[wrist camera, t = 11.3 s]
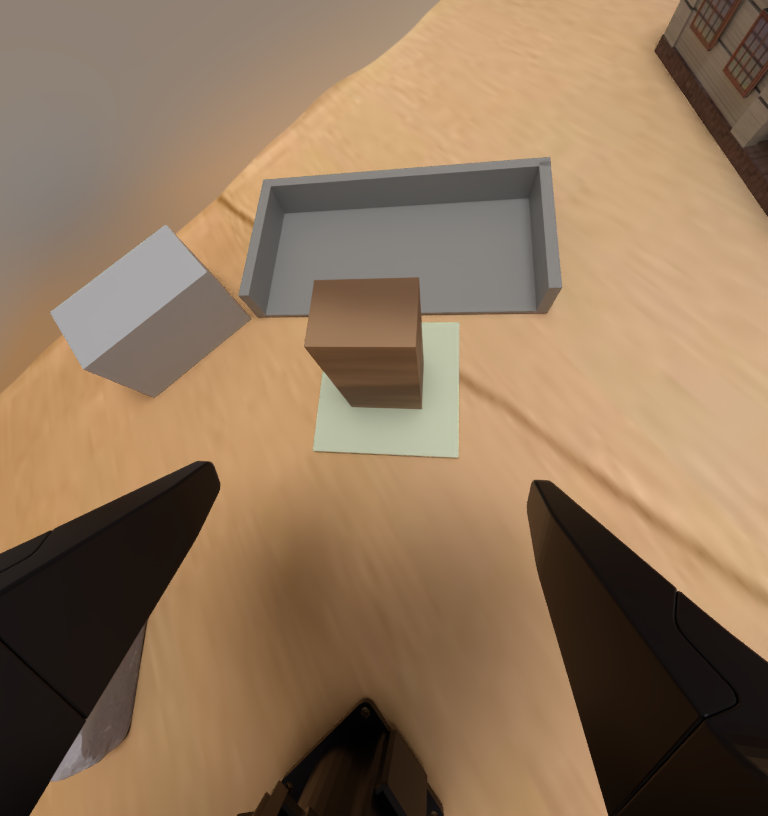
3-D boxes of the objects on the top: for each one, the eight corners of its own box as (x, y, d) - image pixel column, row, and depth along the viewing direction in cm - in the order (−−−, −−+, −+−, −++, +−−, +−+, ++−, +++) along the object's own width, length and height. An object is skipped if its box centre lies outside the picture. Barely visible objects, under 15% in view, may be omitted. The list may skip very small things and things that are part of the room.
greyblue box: (156, 398, 27) (83, 369, 22) (124, 350, 29) (50, 312, 23) (252, 319, 28) (207, 271, 23) (216, 278, 30) (165, 224, 24)
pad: (458, 458, 23) (458, 457, 22) (314, 451, 24) (312, 450, 24) (458, 325, 25) (459, 322, 25) (330, 326, 27) (328, 323, 26)
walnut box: (421, 409, 23) (415, 346, 14) (351, 407, 24) (304, 346, 15) (423, 361, 24) (419, 275, 15) (356, 360, 25) (314, 278, 16)
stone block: (36, 724, 23) (140, 750, 20) (-72, 771, 19) (40, 812, 16) (81, 539, 27) (174, 537, 24) (0, 543, 23) (101, 541, 20)
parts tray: (547, 313, 25) (562, 287, 22) (258, 317, 28) (238, 295, 25) (537, 193, 28) (550, 157, 25) (278, 209, 31) (263, 179, 28)
